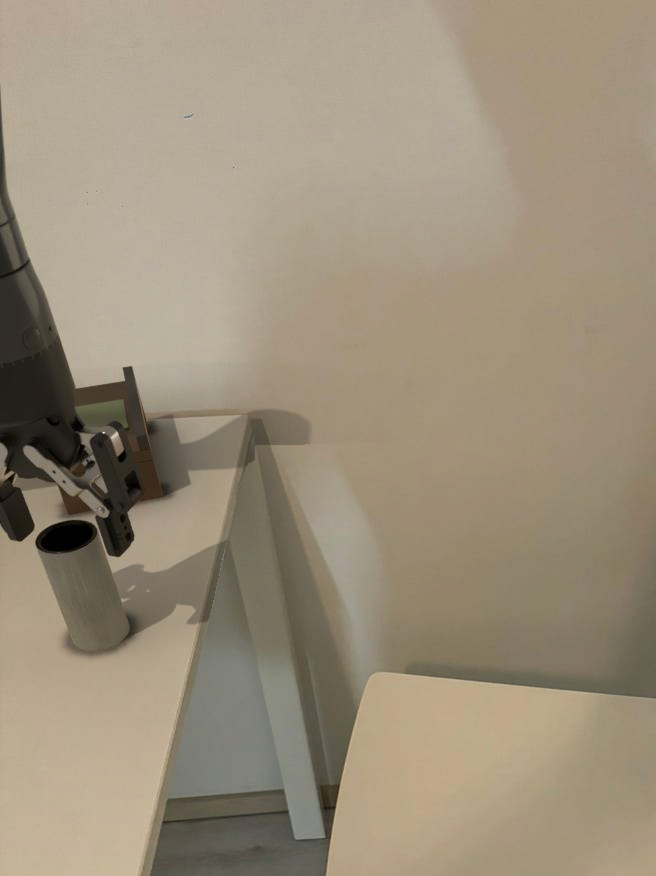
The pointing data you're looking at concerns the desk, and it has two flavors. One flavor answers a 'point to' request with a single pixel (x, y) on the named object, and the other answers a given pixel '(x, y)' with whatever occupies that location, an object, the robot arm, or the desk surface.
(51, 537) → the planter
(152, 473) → the brown wooden box
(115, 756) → the desk surface
